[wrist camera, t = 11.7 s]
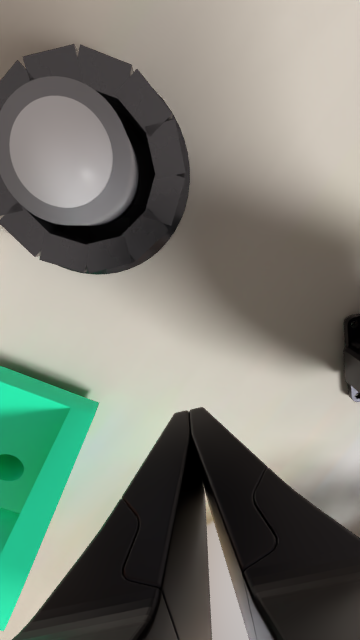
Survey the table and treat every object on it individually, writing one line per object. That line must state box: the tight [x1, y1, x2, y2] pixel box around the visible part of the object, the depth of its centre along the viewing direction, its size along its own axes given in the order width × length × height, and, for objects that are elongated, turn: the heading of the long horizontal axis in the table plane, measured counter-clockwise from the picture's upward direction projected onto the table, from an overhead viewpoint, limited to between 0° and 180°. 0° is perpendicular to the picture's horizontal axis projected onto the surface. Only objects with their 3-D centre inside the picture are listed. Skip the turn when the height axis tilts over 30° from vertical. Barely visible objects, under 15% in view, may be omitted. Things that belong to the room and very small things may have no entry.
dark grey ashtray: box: [0, 44, 190, 274], centre depth 17 cm, size 11×11×3 cm
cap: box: [0, 76, 140, 226], centre depth 15 cm, size 5×5×5 cm
